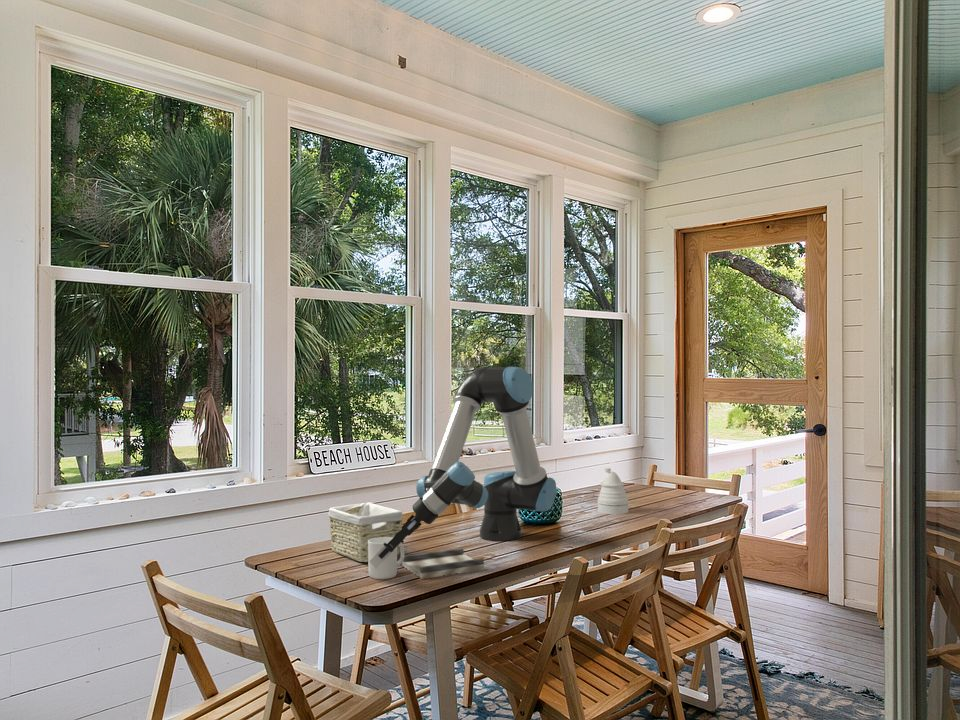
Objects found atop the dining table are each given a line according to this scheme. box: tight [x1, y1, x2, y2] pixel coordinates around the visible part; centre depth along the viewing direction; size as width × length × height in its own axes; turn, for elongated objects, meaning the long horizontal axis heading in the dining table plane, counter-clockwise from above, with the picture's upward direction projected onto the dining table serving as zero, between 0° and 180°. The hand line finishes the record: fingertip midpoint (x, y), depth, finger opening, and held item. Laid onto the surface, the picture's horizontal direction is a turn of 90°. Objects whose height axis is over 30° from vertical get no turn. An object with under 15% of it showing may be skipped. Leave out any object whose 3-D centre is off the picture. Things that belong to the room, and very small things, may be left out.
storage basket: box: [327, 501, 404, 563], centre depth 227 cm, size 24×16×15 cm
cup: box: [367, 537, 405, 580], centre depth 203 cm, size 8×12×10 cm
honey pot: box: [597, 467, 629, 515], centre depth 295 cm, size 13×13×18 cm
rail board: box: [401, 548, 485, 580], centre depth 209 cm, size 20×16×3 cm
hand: (377, 560), depth 202 cm, fingers closed on cup, 10 cm apart
